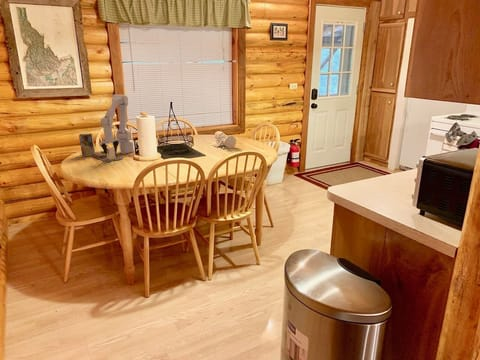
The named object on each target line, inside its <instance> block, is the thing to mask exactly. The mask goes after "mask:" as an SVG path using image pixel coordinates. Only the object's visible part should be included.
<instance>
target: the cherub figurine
mask: <svg viewBox="0 0 480 360" xmlns="http://www.w3.org/2000/svg"><path fill="white" fill-rule="evenodd" d="M214 139H215V140H216V141H215V142H213V143H212V146H213V147H216V148H218V147H221V146H222V145H224V146H225V147H226V148H228V149H234V148H235V146H236V144H237V139H236V137H235V136H234V135H227V134H225V133H224V132H223V131H216V132H215V133H214Z"/></svg>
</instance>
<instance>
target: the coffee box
mask: <svg viewBox="0 0 480 360" xmlns="http://www.w3.org/2000/svg"><path fill="white" fill-rule="evenodd" d="M93 137H94V136H93V133H80V134H78V140H79V145H80V149H81V156H82V157H94V156H93V153H94V152H96V149H95V143H94V138H93Z"/></svg>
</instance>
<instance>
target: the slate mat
mask: <svg viewBox="0 0 480 360" xmlns="http://www.w3.org/2000/svg"><path fill="white" fill-rule="evenodd" d="M115 157H116V159H112V160H109V159H107V158H103V159H100V160H101V161H103V162H104V163H111V162H115V161H121V160H123V158H122V157H120V156H115Z"/></svg>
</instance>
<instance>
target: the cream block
mask: <svg viewBox="0 0 480 360" xmlns="http://www.w3.org/2000/svg"><path fill="white" fill-rule="evenodd" d="M106 155H107V159H109V160H112V159H116V157H115V149H114V146H113V147H112V146H109V147H107V154H106Z"/></svg>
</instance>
